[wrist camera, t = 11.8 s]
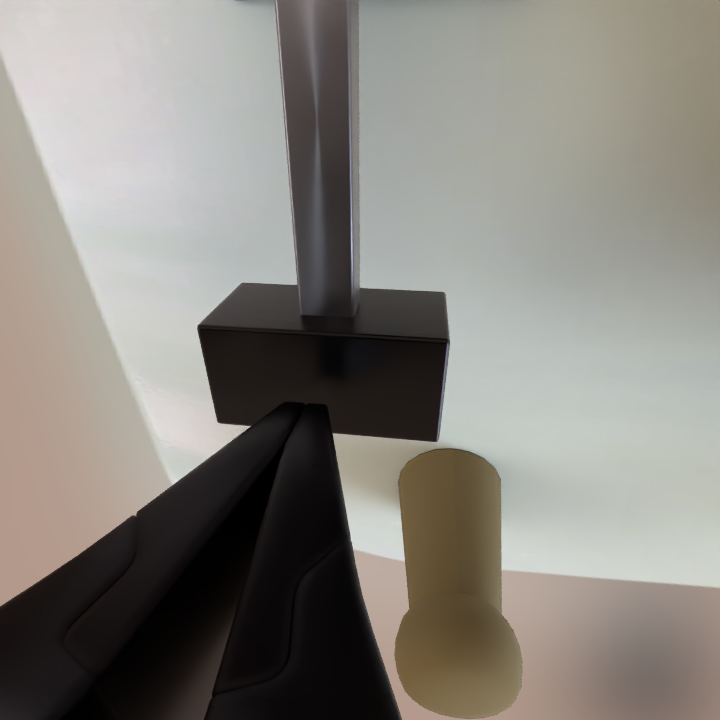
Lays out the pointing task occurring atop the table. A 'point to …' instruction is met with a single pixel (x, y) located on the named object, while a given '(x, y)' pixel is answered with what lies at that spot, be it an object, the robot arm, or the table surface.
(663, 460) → the table surface
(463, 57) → the table surface
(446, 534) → the cork
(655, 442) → the table surface
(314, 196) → the lever
